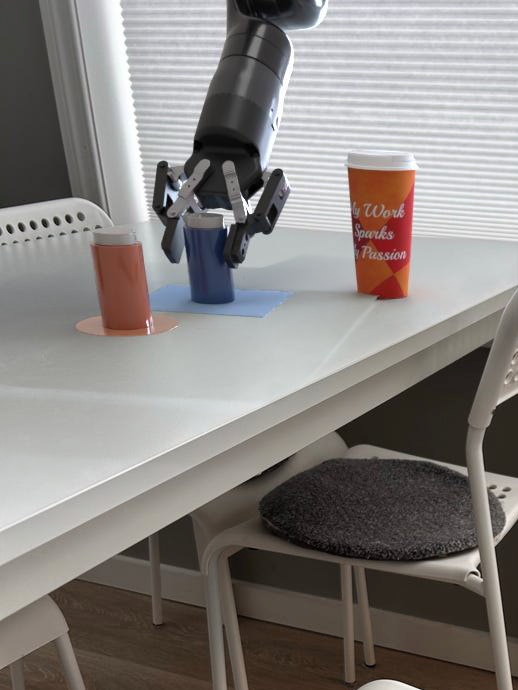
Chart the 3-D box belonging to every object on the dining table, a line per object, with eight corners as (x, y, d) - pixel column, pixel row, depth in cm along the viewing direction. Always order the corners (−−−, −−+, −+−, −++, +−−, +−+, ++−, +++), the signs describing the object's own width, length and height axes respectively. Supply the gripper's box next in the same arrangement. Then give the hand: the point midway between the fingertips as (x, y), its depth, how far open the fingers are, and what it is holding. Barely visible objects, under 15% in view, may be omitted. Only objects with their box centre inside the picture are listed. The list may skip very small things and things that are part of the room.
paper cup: (336, 296, 103) (331, 152, 96) (364, 284, 109) (361, 147, 102) (403, 303, 101) (403, 157, 94) (428, 290, 107) (430, 152, 100)
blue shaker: (184, 302, 96) (174, 216, 91) (199, 294, 99) (190, 211, 95) (227, 305, 95) (219, 219, 91) (240, 296, 99) (233, 213, 95)
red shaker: (94, 328, 85) (78, 232, 81) (114, 317, 89) (100, 225, 85) (141, 331, 85) (128, 235, 81) (159, 320, 89) (147, 228, 85)
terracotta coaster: (58, 337, 84) (57, 332, 84) (101, 315, 91) (100, 310, 91) (157, 343, 83) (157, 338, 83) (192, 320, 91) (192, 316, 91)
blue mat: (123, 312, 93) (122, 308, 92) (167, 288, 103) (167, 284, 103) (263, 321, 92) (263, 316, 92) (294, 296, 102) (294, 292, 102)
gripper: (160, 86, 95) (115, 230, 91) (295, 93, 93) (254, 241, 89) (191, 143, 102) (150, 278, 98) (317, 150, 100) (280, 290, 96)
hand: (200, 260), depth 94 cm, fingers open, 5 cm apart
